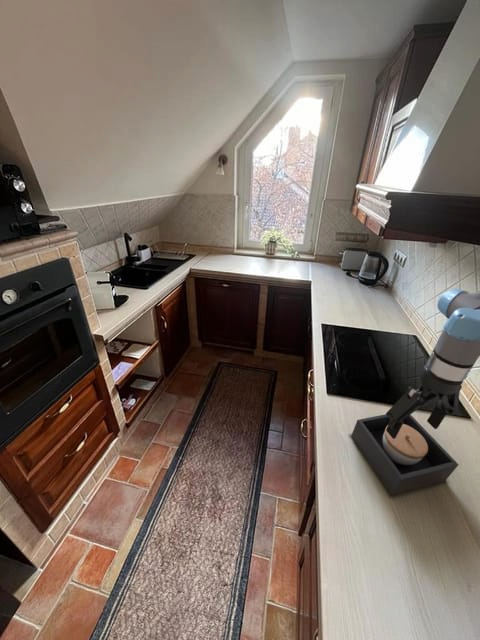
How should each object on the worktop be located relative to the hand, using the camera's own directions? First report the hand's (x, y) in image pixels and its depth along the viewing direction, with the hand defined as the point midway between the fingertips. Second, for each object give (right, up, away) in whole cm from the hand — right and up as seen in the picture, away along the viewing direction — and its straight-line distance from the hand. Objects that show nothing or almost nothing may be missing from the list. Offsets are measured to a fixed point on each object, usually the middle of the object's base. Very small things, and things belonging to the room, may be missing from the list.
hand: (411, 429), depth 70 cm
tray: (-1, -11, +7) cm, 13 cm away
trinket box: (0, -10, +6) cm, 12 cm away
